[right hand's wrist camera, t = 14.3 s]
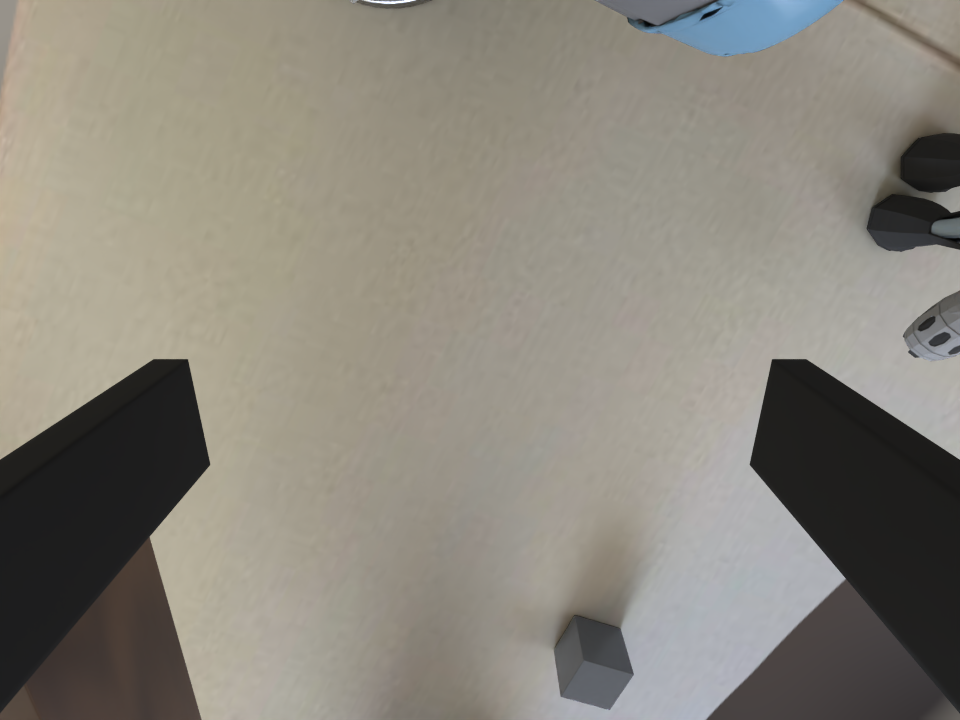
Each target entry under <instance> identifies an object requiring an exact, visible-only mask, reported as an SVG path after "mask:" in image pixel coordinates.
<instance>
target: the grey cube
mask: <svg viewBox="0 0 960 720" xmlns="http://www.w3.org/2000/svg"><path fill="white" fill-rule="evenodd" d="M554 654H555V661H556V668H557V675H558V682H559V688H560V695H561V697H563V698H567V699H570V700H574V701H578V702H581V703H585V704H589V705H592V706H596V707H600V708H603V709H607V710H610V709H611V707H612V706H613V704H614V703H615V701H616V700H617V699H618V697H619V696H620V694H621V693H622V691H623V690H624V688H625V687H626V685H627V684H628V682H629V681H630V679H631V678H632V677H633V675H634V673H633V670H632V666H631V663H630V660H629V656H628V653H627V649H626V646H625V642H624V639H623V635H622V632H621V629H620V628H616V627H613V626H610V625H606V624H603V623H600V622H596V621H593V620H590V619H586V618H583V617H580V616H576V615H574V617H573V619H572V620H571V622H570V624H569V625H568V627H567V629H566V630H565V632H564V634H563V635H562V637H561V639H560V641H559V642H558V644H557V646H556V647H555V649H554Z"/></svg>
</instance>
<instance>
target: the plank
mask: <svg viewBox="0 0 960 720" xmlns="http://www.w3.org/2000/svg"><path fill="white" fill-rule="evenodd" d="M0 720H201V716H200V713H199V709H198V706H197V702H196V699H195V695H194V692H193V688H192V685H191V681H190V678H189V674H188V671H187V667H186V664H185V660H184V657H183V653H182V650H181V646H180V642H179V639H178V635H177V632H176V628H175V625H174V621H173V618H172V614H171V611H170V607H169V604H168V600H167V597H166V593H165V590H164V586H163V583H162V579H161V576H160V572H159V569H158V565H157V562H156V558H155V555H154V551H153V548H152V544H151V541H150V537H149V538H148V539H147V540H146V541H145V543H144V544H143V545H142V546H141V547H140V548H139V550H138V551H137V552H136V553H135V554H134V556H133V557H132V558H131V559H130V560H129V561H128V563H127V564H126V565H125V566H124V567H123V569H122V570H121V571H120V572H119V573H118V574H117V576H116V577H115V578H114V579H113V580H112V582H111V583H110V584H109V585H108V586H107V588H106V589H105V590H104V591H103V592H102V593H101V595H100V596H99V597H98V598H97V599H96V601H95V602H94V603H93V604H92V605H91V606H90V608H89V609H88V610H87V611H86V612H85V614H84V615H83V616H82V617H81V618H80V619H79V621H78V622H77V623H76V624H75V625H74V627H73V628H72V629H71V630H70V631H69V632H68V634H67V635H66V636H65V637H64V638H63V640H62V641H61V642H60V643H59V644H58V645H57V647H56V648H55V649H54V650H53V651H52V653H51V654H50V655H49V656H48V657H47V658H46V660H45V661H44V662H43V663H42V664H41V666H40V667H39V668H38V669H37V670H36V671H35V673H34V674H33V675H32V676H31V677H30V679H29V680H28V681H27V682H26V683H25V685H24V686H23V687H22V688H21V689H20V690H19V692H18V693H17V694H16V695H15V696H14V698H13V699H12V700H11V701H10V702H9V703H8V705H7V706H6V707H5V708H4V709H3V711H2V712H1V713H0Z"/></svg>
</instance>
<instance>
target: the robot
mask: <svg viewBox="0 0 960 720" xmlns="http://www.w3.org/2000/svg"><path fill="white" fill-rule="evenodd" d="M901 179H903V180H904V181H905V182H907V183H908V184H910V185H911V186H913V187H914V188H916V189H917V190H919V191H924V192H930V193H932V192H946V191H948V190H949V189H951V188H954V187H958V186H960V134H951V133H943V134H937V135H932V136H927V137H921V138H918V139H917V140H916V141H915V143H914V144H913V145H912V146H911V147H910V148H909V149H908V150H907V151H906V152H905V153H904V154H903V156H902V157H901ZM867 230H868V231H869V233H870V234H871V236H872V237H873V239H874V240H875V241H876V243H877V244H878V245H879V246H880V247H882V248H884V249H886V250H889V251H900V252H902V251H905V250H909V249H913V248H915V247H918V246H928V245H935V244H937V245H942V246H946V247H950V248H955V249H959V250H960V211H958V212H954V213H950V212H949V211H948V210H947V209H946V208H944V207H943V206H941V205H939V204H937V203H935V202H933V201H930V200H927V199H923V198H917V197H910V196H902V195H894V194H892V195H891V196H889V197H887V198H886V199H884V200H883V201H881V202H880V203H878V204H877V205H875V206H874V207H872V211H871V215H870V218H869V222H868V226H867ZM903 337H904V338H905V342H906V344H907V346H908V347H909V349H910V350H909V352H908V353H910V354H911V355H912V356H914V357H915V358H916V357H920V358H923V359H926V360H929V361H936V360H942V359H946V358H950V357H954V356H956V355H958V354H960V291H958V292H956V293H954V294H952V295H949V296H947V297H945V298H944V299H942V300H941V301H939V302H938V303H936V304H935V305H933V306H932V307H931V308H930V309H928V310H927V311H926V312H925V313H923V314H922V315H921V316H920V317H918V318H917V319H916V320H915V321H914V322H913V323H912V324H911V325H910V326H909V327H908V329H907V330H906V331H905V333H904V335H903Z"/></svg>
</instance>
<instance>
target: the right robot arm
mask: <svg viewBox="0 0 960 720" xmlns="http://www.w3.org/2000/svg"><path fill="white" fill-rule="evenodd" d="M350 1H351V2H352V3H353V4H354V3H355V2H357V3H360V4H363V5H367V6H372V7H379V8H404V7H411V6H415V5H420V4H423V3H426V2H428V1H431V0H350ZM595 1H597V2H599V3H601V4H603V5H605V6H607V7H609V8H611V9H613V10H615V11H617V12H619V13H621V14H623V15H625V16H627V18H628V22H629V24H631V25H632V26H634V27H635V28H637V29H639V30H641V31H643V32H647V33H662V34H665V35H667V36H669V37H671V38H674V39H676V40H678V41H680V42H683V43H685V44H687V45H689V46H692V47H694V48H696V49H698V50H701V51H703V52H706V53H709V54H712V55H718V56H732V55H736V54H745V53H754V52H757V51H761V50H764V49H766V48H769V47H771V46H773V45H775V44H777V43H779V42H782V41H784V40H786V39H788V38H789V37H791V36H793V35H795V34H797V33H798V32H800V31H802V30H803V29H805V28H806V27H808V26H809V25H811V24H812V23H814V22H815V21H817V20H818V19H820V18H821V17H823V16H824V15H825V14H827V13H828V12H830V11H831V10H832V9H833V8H835V7H836V6H837V5H838V4H840V3H841V2H842V1H843V0H595ZM209 466H210V461H209V456H208V452H207V447H206V442H205V438H204V433H203V428H202V423H201V419H200V414H199V409H198V405H197V400H196V395H195V391H194V386H193V381H192V377H191V372H190V367H189V362H188V359H153V360H152V361H150V362H149V363H147V364H146V365H144V366H143V367H141V368H140V369H138V370H137V371H135V372H134V373H132V374H131V375H129V376H127V377H126V378H124V379H123V380H121V381H120V382H118V383H117V384H115V385H114V386H112V387H111V388H109V389H108V390H106V391H105V392H103V393H102V394H100V395H98V396H97V397H95V398H94V399H92V400H91V401H89V402H88V403H86V404H85V405H83V406H82V407H80V408H79V409H77V410H76V411H74V412H72V413H71V414H69V415H68V416H66V417H65V418H63V419H62V420H60V421H59V422H57V423H56V424H54V425H53V426H51V427H50V428H48V429H47V430H45V431H43V432H42V433H40V434H39V435H37V436H36V437H34V438H33V439H31V440H30V441H28V442H27V443H25V444H24V445H22V446H21V447H19V448H18V449H16V450H14V451H13V452H11V453H10V454H8V455H7V456H5V457H4V458H2V459H1V460H0V713H1V712H2V711H3V709H4V708H5V707H6V706H7V705H8V703H9V702H10V701H11V700H12V699H13V698H14V696H15V695H16V694H17V693H18V692H19V690H20V689H21V688H22V687H23V686H24V685H25V683H26V682H27V681H28V680H29V679H30V677H31V676H32V675H33V674H34V673H35V671H36V670H37V669H38V668H39V667H40V666H41V664H42V663H43V662H44V661H45V660H46V658H47V657H48V656H49V655H50V654H51V653H52V651H53V650H54V649H55V648H56V647H57V645H58V644H59V643H60V642H61V641H62V640H63V638H64V637H65V636H66V635H67V634H68V632H69V631H70V630H71V629H72V628H73V627H74V625H75V624H76V623H77V622H78V621H79V619H80V618H81V617H82V616H83V615H84V614H85V612H86V611H87V610H88V609H89V608H90V606H91V605H92V604H93V603H94V602H95V601H96V599H97V598H98V597H99V596H100V595H101V593H102V592H103V591H104V590H105V589H106V588H107V586H108V585H109V584H110V583H111V582H112V580H113V579H114V578H115V577H116V576H117V574H118V573H119V572H120V571H121V570H122V569H123V567H124V566H125V565H126V564H127V563H128V561H129V560H130V559H131V558H132V557H133V556H134V554H135V553H136V552H137V551H138V550H139V548H140V547H141V546H142V545H143V544H144V543H145V541H146V540H147V539H148V538H149V537H150V535H151V534H152V533H153V532H154V531H155V530H156V528H157V527H158V526H159V525H160V524H161V522H162V521H163V520H164V519H165V518H166V517H167V515H168V514H169V513H170V512H171V511H172V509H173V508H174V507H175V506H176V505H177V504H178V502H179V501H180V500H181V499H182V498H183V496H184V495H185V494H186V493H187V492H188V491H189V489H190V488H191V487H192V486H193V485H194V483H195V482H196V481H197V480H198V479H199V477H200V476H201V475H202V474H203V473H204V472H205V470H206V469H207V468H208V467H209ZM750 466H751V467H752V468H753V469H754V470H755V472H756V473H757V474H758V475H759V476H760V477H761V479H762V480H763V481H764V482H765V483H766V485H767V486H768V487H769V488H770V489H771V491H772V492H773V493H774V494H775V495H776V496H777V498H778V499H779V500H780V501H781V502H782V504H783V505H784V506H785V507H786V508H787V509H788V511H789V512H790V513H791V514H792V515H793V517H794V518H795V519H796V520H797V521H798V522H799V524H800V525H801V526H802V527H803V528H804V530H805V531H806V532H807V533H808V534H809V535H810V537H811V538H812V539H813V540H814V541H815V543H816V544H817V545H818V546H819V547H820V548H821V550H822V551H823V552H824V553H825V554H826V556H827V557H828V558H829V559H830V560H831V561H832V563H833V564H834V565H835V566H836V567H837V569H838V570H839V571H840V572H841V573H842V574H843V576H844V577H845V578H846V579H847V580H848V582H849V583H850V584H851V585H852V586H853V588H854V589H855V590H856V591H857V592H858V593H859V595H860V596H861V597H862V598H863V599H864V600H865V602H866V603H867V604H868V605H869V606H870V608H871V609H872V610H873V611H874V612H875V614H876V615H877V616H878V617H879V618H880V619H881V621H882V622H883V623H884V624H885V625H886V627H887V628H888V629H889V630H890V631H891V632H892V634H893V635H894V636H895V637H896V638H897V640H898V641H899V642H900V643H901V644H902V645H903V647H904V648H905V649H906V650H907V651H908V653H909V654H910V655H911V656H912V657H913V658H914V660H915V661H916V662H917V663H918V664H919V666H920V667H921V668H922V669H923V670H924V671H925V673H926V674H927V675H928V676H929V677H930V679H931V680H932V681H933V682H934V683H935V684H936V686H937V687H938V688H939V689H940V690H941V692H942V693H943V694H944V695H945V696H946V698H947V699H948V700H949V701H950V702H951V703H952V705H953V706H954V707H955V708H956V709H957V711H958V712H959V713H960V460H959V459H958V458H956V457H955V456H953V455H952V454H950V453H949V452H947V451H946V450H944V449H942V448H941V447H939V446H938V445H936V444H935V443H933V442H932V441H930V440H929V439H927V438H926V437H924V436H923V435H921V434H920V433H918V432H917V431H915V430H913V429H912V428H910V427H909V426H907V425H906V424H904V423H903V422H901V421H900V420H898V419H897V418H895V417H894V416H892V415H891V414H889V413H888V412H886V411H884V410H883V409H881V408H880V407H878V406H877V405H875V404H874V403H872V402H871V401H869V400H868V399H866V398H865V397H863V396H862V395H860V394H858V393H857V392H855V391H854V390H852V389H851V388H849V387H848V386H846V385H845V384H843V383H842V382H840V381H839V380H837V379H836V378H834V377H833V376H831V375H829V374H828V373H826V372H825V371H823V370H822V369H820V368H819V367H817V366H816V365H814V364H813V363H811V362H810V361H808V360H807V359H772V362H771V367H770V372H769V377H768V381H767V386H766V391H765V395H764V400H763V405H762V409H761V414H760V419H759V423H758V428H757V433H756V438H755V442H754V447H753V452H752V456H751V461H750Z"/></svg>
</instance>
